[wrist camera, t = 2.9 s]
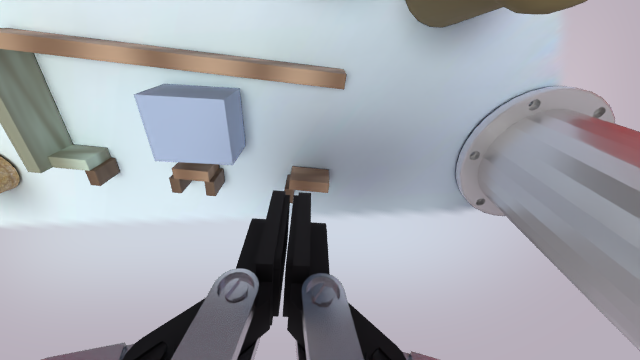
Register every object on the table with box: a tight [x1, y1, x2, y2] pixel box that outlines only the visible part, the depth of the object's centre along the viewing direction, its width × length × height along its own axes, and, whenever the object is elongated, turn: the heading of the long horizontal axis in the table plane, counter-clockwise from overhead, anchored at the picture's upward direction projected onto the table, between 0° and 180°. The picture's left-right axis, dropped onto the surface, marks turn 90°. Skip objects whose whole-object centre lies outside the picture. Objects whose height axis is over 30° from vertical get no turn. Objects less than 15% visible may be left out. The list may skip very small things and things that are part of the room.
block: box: [134, 84, 246, 165], centre depth 20 cm, size 6×5×4 cm
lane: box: [0, 28, 346, 203], centre depth 20 cm, size 24×12×4 cm, turn 84°
